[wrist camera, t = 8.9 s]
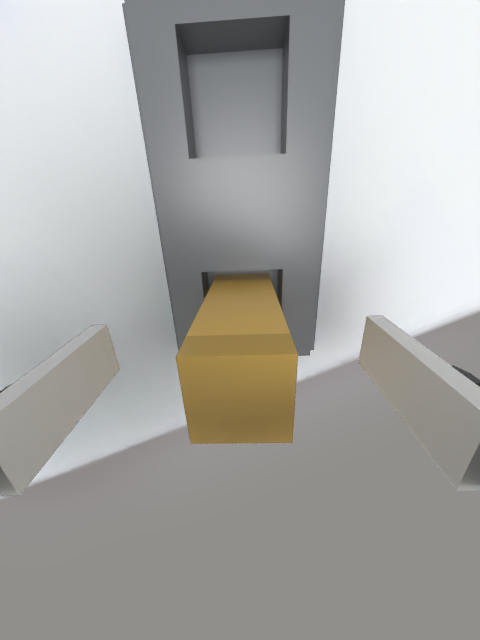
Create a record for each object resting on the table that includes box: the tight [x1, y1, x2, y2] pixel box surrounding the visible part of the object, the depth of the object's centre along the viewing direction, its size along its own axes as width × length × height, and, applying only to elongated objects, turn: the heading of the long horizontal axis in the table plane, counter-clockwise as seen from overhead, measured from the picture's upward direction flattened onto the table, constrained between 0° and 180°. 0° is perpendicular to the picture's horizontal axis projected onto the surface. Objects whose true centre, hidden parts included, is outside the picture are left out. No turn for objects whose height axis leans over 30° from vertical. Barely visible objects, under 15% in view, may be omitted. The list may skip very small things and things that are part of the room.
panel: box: [122, 0, 345, 356], centre depth 17 cm, size 12×22×4 cm, turn 2°
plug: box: [176, 273, 298, 444], centre depth 14 cm, size 4×4×12 cm
